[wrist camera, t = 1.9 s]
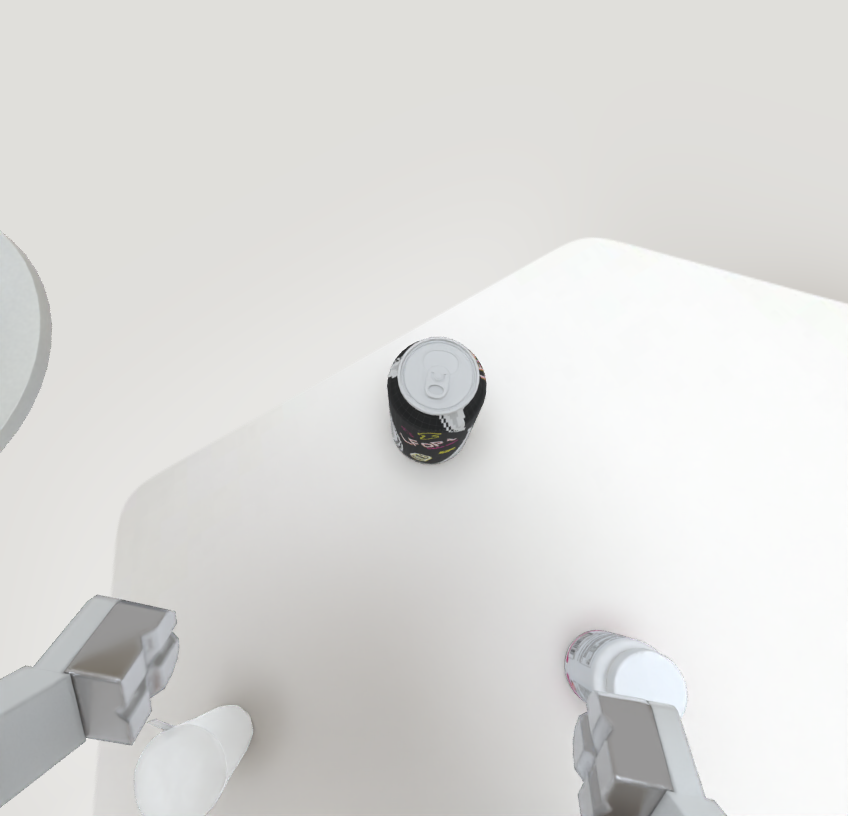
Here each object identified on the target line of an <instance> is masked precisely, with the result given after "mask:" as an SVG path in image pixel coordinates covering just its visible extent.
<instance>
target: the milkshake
mask: <svg viewBox="0 0 848 816" xmlns="http://www.w3.org/2000/svg"><path fill="white" fill-rule="evenodd" d="M147 723H148V724H151V725H154V726H156V727H159V728H161V729H164V731H163V732H161V733H160V734H158V735H157V736H156V737H154V738H153V739H152V740H151V741H150V742H149V743H148V745H147V746H146V747H145V749H144V750H143V752H142V754H141V756H140V758H139V760H138V763H137V766H136V769H135V773H134V790H135V798H136V802H137V805H138V808H139V810H140V811H141V813H142V815H143V816H205V815H206V814H207V813H208V812H209V811H210V810H211V809H212V807H213V806H214V805H215V803H216V802H217V800H218V799H219V797H220V795H221V793H222V791H223V789H224V788H225V786H226V784H227V782H228V780H229V778H230V777H231V775H232V774H233V772H234V770H235V769H236V767H237V766H238V764H239V762H240V761H241V759H242V757H243V756H244V754H245V753H246V751H247V749H248V747H249V744H250V741H251V738H252V735H253V733H254V731H253V726H252V722H251V717H250V715H249V714H248V713H247V712H246V711H244V710H243V709H242V708H241V707H240V706H238V705H222V706H219V707H217V708H215V709H213V710H211V711H209V712H207V713H204V714H202V715H200V716H198V717H196V718H194V719H191V720H189V721H186V722H184V723H181V724H179V725H176V726H173V725H170V724H168V723H165V722H163V721H160V720H158V719H154V720H151V721H149V722H147Z"/></svg>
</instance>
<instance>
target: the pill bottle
mask: <svg viewBox="0 0 848 816" xmlns="http://www.w3.org/2000/svg"><path fill="white" fill-rule="evenodd" d="M565 670H566V676H567V679H568V682H569V684H570V686H571V688H572V689H573V691H574V692H575V693H576V694H577V696H578V697H579V698H580V699H582V700H583V701H584V702H585V703H586V700H587V698H588V696H589V694H590V693H591V692H592V691H594V690H596V691H602V692H607V693H613V694H619V695H624V696H630V697H636V698H642V699H645V700H648V701H653V702H659V703H665V704H670V705H673V706H675V708H676V709H677V710H678V712H679V715H680V718H682V716H683V714H684V712H685V709H686V706H687V698H688V695H687V687H686V683H685V680H684V677H683V675H682V673H681V672H680V670H679V669H678V667H677V666H676V665H675V664H674V663H673V662H672V661H671V660H670V659H669V658H667V657H666V656H664V655H662V654H660V653H659V652H658V651H657V650H656V649H655V648H653V647H652V646H650V645H649V644H647V643H645V642H642V641H640V640H636V639H633V638H629V637H625V636H622V635H618V634H614V633H611V632H607V631H601V630H593V631H588V632H585V633H583V634H581V635H580V636H578V637H577V638H576V639H575V640H574V641H573V642H572V644H571V645H570V647H569V649H568V652H567V655H566V661H565Z"/></svg>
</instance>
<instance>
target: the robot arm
mask: <svg viewBox="0 0 848 816" xmlns="http://www.w3.org/2000/svg"><path fill="white" fill-rule="evenodd" d="M176 624H177V619H176V612H175V611H172V610H168V609H163V608H159V607H154V606H149V605H145V604H140V603H135V602H131V601H126V600H122V599H117V598H112V597H107V596H101V595H96V596H94V597H93V598H91V599H90V600H89V601H87V602H86V604H85V605H84V606H83V607H82V608H81V610H80V611H79V612H78V613H77V614H76V616H75V617H74V618H73V619H72V620H71V622H70V623H69V624H68V625H67V627H66V628H65V629H64V630H63V631H62V633H61V634H60V635H59V636H58V637H57V639H56V640H55V641H54V642H53V643H52V645H51V646H50V647H49V648H48V650H47V651H46V652H45V653H44V654H43V656H42V657H41V658H40V659H39V660H38V662H37V663H36V664H35V665H34V666H33V667H31V666H24V667H22V668H20V669H18V670H16V671H14V672H13V673H11V674H9V675H7V676H5V677H3V678H2V679H0V808H1V807H2V806H3V805H4V804H6V803H7V802H8V801H10V800H11V799H12V798H13V797H15V796H16V795H17V794H19V793H20V792H21V791H22V790H24V789H25V788H26V787H28V786H29V785H30V784H31V783H33V782H34V781H35V780H36V779H38V778H39V777H40V776H42V775H43V774H44V773H45V772H47V771H48V770H49V769H51V768H52V767H53V766H54V765H56V764H57V763H58V762H60V761H61V760H62V759H63V758H65V757H66V756H67V755H69V754H70V753H71V752H72V751H74V750H75V749H76V748H78V747H79V746H80V745H81V744H83V743H84V742H85V741H86V738H90V739H96V740H102V741H108V742H114V743H120V744H126V745H133V743H134V741H135V739H136V738H137V736H138V734H139V732H140V731H141V729H142V727H143V725H144V724H145V722H146V720H147V718H148V717H149V715H150V713H151V711H152V709H151V701H150V698H151V697H153V696H154V695H156V694H157V693H159V692H160V691H162V690H163V689H164V688H165V687H166V685H167V683H168V681H169V679H170V677H171V676H172V673H173V670H174V668H175V665H176V662H177V659H178V653H179V638H178V637H177V636H176V635H175V634H174V633H173V632H172V630H173V629H174V627H175V626H176ZM586 705H587V711H588V712H586V713H584V714H582V715H580V716H579V718H578V721H577V723H576V726H575V730H574V737H573V759H574V768H575V770H576V772H577V773H578V774H579V776H580V777H581V779H582V780H583V782H584V783H583V785H582V787H581V789H580V791H579V793H578V799H579V807H580V814H581V816H727V815H726V814H725V813H724V811H723V810H722V809H721V808H720V807H719V805H718V804H717V803H716V802H715V801H714V800H711V799H707V798H706V797H705V794H704V791H703V788H702V784H701V781H700V778H699V775H698V772H697V769H696V766H695V762H694V759H693V756H692V753H691V750H690V747H689V744H688V740H687V737H686V734H685V731H684V728H683V725H682V721H681V718H680V715H679V712H678V710H677V709H676V708H675V706H673V705H670V704H665V703H659V702H653V701H648V700H645V699H642V698H636V697H630V696H624V695H619V694H613V693H607V692H602V691H596V690H594V691H592V692H591V693H590V694H589V696H588V698H587V700H586Z"/></svg>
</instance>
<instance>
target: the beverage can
mask: <svg viewBox="0 0 848 816" xmlns="http://www.w3.org/2000/svg"><path fill="white" fill-rule="evenodd" d="M387 388H388V398H389V408H390V418H391V428H392V435H393V438H394V441H395V443H396V444H397V446H398V448H399V449H400V450H401V451H402V452H403V454H405V455H406V456H407V457H409V458H410V459H412V460H414V461H416V462H420V463H423V464H437V463H442V462H445V461H447V460H449V459H451V458H453V457H454V456H455V455H456V454H457V453H459V452H460V450H461V449H462V448H463V446H464V444H465V442H466V440H467V438H468V436H469V434H470V432H471V429H472V427H473V425H474V423H475V421H476V418H477V416H478V414H479V412H480V409H481V407H482V405H483V403H484V399H485V395H486V378H485V373H484V371H483V368H482V366H481V364H480V362H479V361H478V359H477V357H476V356H475V355H474V354H473V353H472V352H471V351H470V350H469V349H467V348H466V347H465V346H464V345H462V344H461V343H459V342H457V341H455V340H453V339H449V338H445V337H430V338H426V339H423V340H421V341H418V342H416V343H414V344H412V345H410V346H408V347H407V348H406V349H405V350H403V351H402V352H401V353H400V354H399V356H398V357H397V358H396V359H395V361H394V363H393V365H392V366H391V369H390V372H389V375H388V383H387Z"/></svg>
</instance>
